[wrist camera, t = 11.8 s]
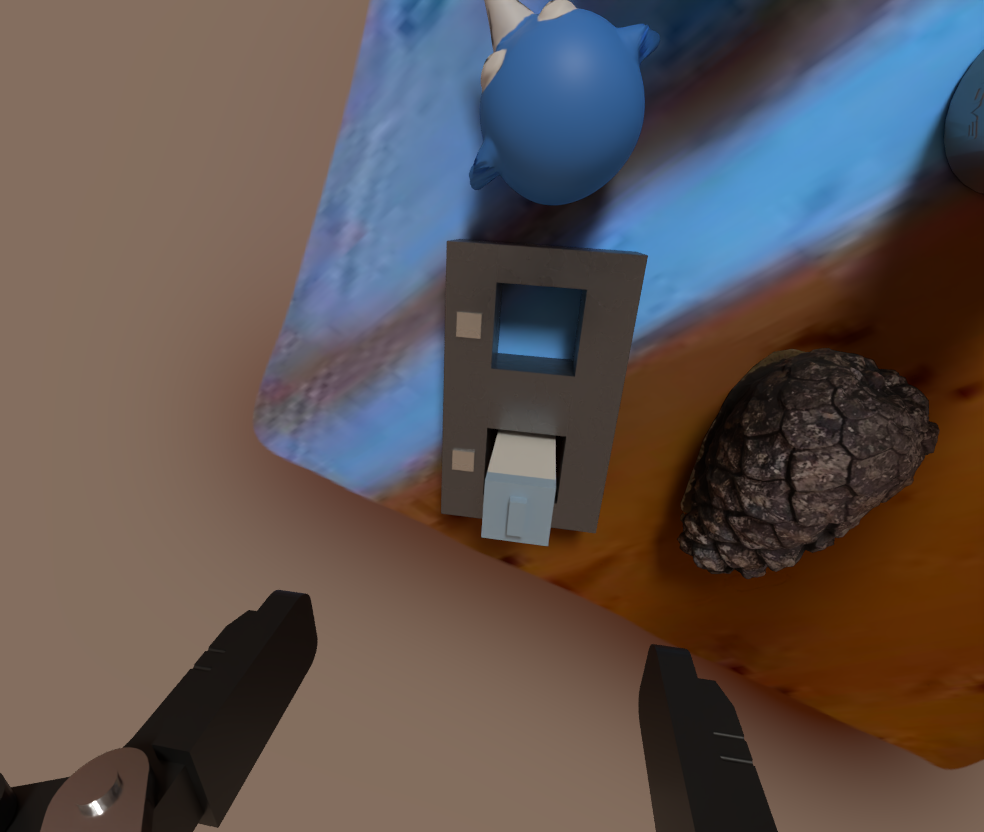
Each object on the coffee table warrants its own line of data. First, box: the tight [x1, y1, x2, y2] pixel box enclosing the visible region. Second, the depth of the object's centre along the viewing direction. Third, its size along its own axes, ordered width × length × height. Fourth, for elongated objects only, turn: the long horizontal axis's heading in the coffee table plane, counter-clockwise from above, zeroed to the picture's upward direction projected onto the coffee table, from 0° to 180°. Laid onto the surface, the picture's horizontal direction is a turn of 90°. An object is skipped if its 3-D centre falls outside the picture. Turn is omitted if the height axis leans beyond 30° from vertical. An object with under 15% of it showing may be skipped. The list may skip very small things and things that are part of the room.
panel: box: [441, 239, 648, 533], centre depth 33 cm, size 12×20×4 cm, turn 176°
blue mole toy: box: [469, 0, 660, 205], centre depth 24 cm, size 12×12×8 cm
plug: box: [481, 429, 556, 546], centre depth 32 cm, size 4×4×11 cm
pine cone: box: [677, 348, 939, 579], centre depth 30 cm, size 10×18×10 cm, turn 168°
